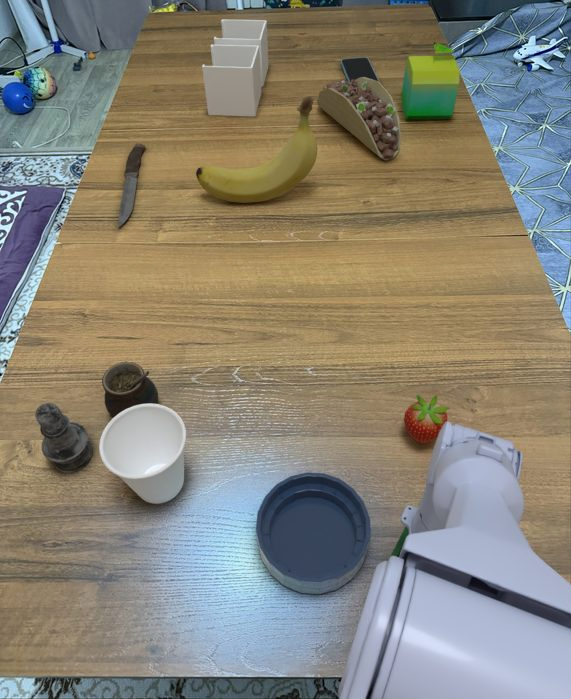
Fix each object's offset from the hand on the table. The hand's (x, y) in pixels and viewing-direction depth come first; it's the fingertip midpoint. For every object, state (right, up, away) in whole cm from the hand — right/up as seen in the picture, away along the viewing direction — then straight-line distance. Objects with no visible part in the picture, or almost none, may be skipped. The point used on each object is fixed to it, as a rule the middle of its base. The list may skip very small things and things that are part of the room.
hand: (425, 563), depth 64 cm
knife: (-47, +57, +52) cm, 90 cm away
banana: (-21, +53, +49) cm, 75 cm away
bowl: (-12, +1, +5) cm, 13 cm away
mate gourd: (-37, +15, +18) cm, 43 cm away
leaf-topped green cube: (+16, +78, +68) cm, 105 cm away
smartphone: (+3, +92, +79) cm, 121 cm away
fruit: (+3, +12, +14) cm, 19 cm away
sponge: (0, -1, +1) cm, 1 cm away
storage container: (-27, +87, +77) cm, 119 cm away
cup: (-32, +6, +11) cm, 34 cm away
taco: (0, +72, +63) cm, 96 cm away
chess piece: (-44, +10, +13) cm, 47 cm away
